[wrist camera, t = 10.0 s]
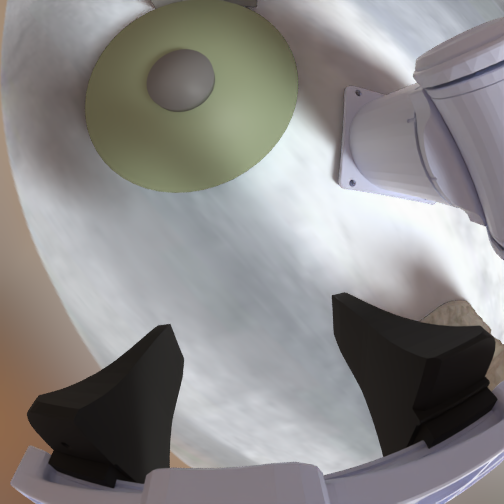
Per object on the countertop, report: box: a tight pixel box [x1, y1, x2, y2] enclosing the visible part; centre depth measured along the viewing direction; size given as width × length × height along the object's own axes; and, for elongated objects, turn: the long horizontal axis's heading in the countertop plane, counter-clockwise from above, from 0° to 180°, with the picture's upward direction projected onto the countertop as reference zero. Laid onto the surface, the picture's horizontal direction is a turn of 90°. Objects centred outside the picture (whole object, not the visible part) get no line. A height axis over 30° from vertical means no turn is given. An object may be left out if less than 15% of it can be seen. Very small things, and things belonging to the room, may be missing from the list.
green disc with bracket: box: [85, 0, 298, 193], centre depth 13 cm, size 14×26×4 cm, turn 175°
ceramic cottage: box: [419, 300, 504, 392], centre depth 19 cm, size 16×16×15 cm
